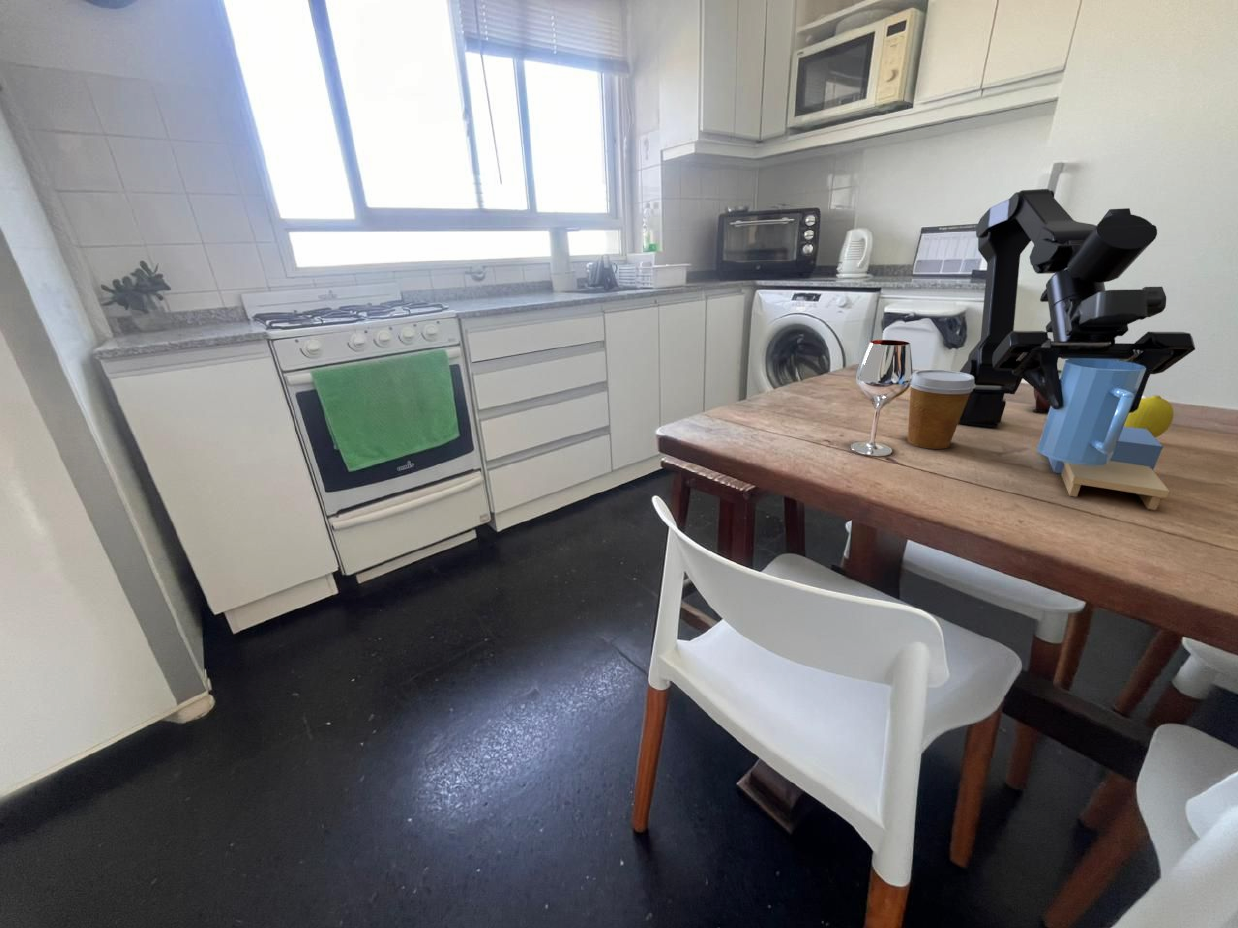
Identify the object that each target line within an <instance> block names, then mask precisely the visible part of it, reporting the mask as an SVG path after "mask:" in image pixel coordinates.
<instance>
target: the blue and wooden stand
mask: <svg viewBox="0 0 1238 928" xmlns="http://www.w3.org/2000/svg"><path fill="white" fill-rule="evenodd" d="M1163 448H1164V445H1162V443H1160V441H1159V440H1158V439H1157V437H1154V436H1153V435H1152V434H1151V433H1150V432H1149V431H1148V430H1147V429H1140V428H1131V427H1123V429H1122V432H1121V434H1120V437H1119V440H1118V442H1117V445H1116V447H1115V450H1114V452H1113V455H1112V458H1111V459H1110V461H1109V463H1107V464H1105V465H1098V466H1089V465H1078V464H1071V463H1066V462H1062V461H1058V460H1055V459H1052V458H1049V457H1047V459H1048V461H1049V463H1050V466H1051V470H1052V472H1053V473H1056V474H1060V476H1061V478H1062V481H1063V483H1064V486H1065V488H1066V491H1067V493H1068V496H1070V497H1075V498H1077V497H1078V495H1079V492H1080V489H1081V487H1082V486H1087V487H1093V488H1099V489H1106V490H1110V491H1111V490H1112V491H1118V492H1123V493H1124V492H1125V493H1130V494H1131V493H1132V494H1136V495H1137V496H1138V497H1139V499H1140V500H1141V502H1142V503H1143V504H1144V506H1145V507H1146V509H1147V510H1152V511H1156V510H1157V509H1158V507H1159V504H1160V503H1161V499H1162V498H1163V499H1167V498H1168V496H1169V494H1170V490H1169V489H1168V487H1167V486H1166V485H1165V484H1164V483H1163V481H1162V480H1161V479H1160V477H1159V476H1158V475H1157V474H1156V472H1155V471H1154V469H1155V467H1156V464H1157V462H1158V460H1159V458H1160V455H1161V453H1162V451H1163Z"/></svg>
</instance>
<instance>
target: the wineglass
mask: <svg viewBox="0 0 1238 928" xmlns="http://www.w3.org/2000/svg"><path fill="white" fill-rule="evenodd" d="M913 365H914V364H913V355H912V346H911V342H910V341H905V340H898V339H877V340H876V339H875V340H874V339H873V340H870V341H869V342H868V344H867V346H866V348H865V350H864V353H863V355H862V357H861V359H860V361H859V364H858V367H857V370H856V373H855V377H854V379H855V384H856V387H857V389H858V390H859V392H860V393H861V394H862V395H863V396H864V397H865V398H866V399H867V400H868V401H869V403H871V405H872V406H873V408H874V411H873V412H874V414H873V419H872V425H871V431H870V435H869V439H868V441H856V442H853V443H851V444H850V450H851V451H853V452H855V453H857V454H860V455H864V456H868V457H869V456H870V457H886V456H889V455H891V454H892V452H893V449H892V448H891V447H890V446H888V445H886V444H883V443H880V442H876V438H877V430H878V425H879V419H880V414H881V410H882V409H883V408H884V407H885V406H886V405H888V404H889V403H891V402H893V401H895V400H896V399H898V398H899V397H901V396H902V395H903V394H905V393H906V392H907V391H908V390H909V389H910V388H911V386H910V385H911V383H912V379H913V373H914V367H913Z"/></svg>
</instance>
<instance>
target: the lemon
mask: <svg viewBox="0 0 1238 928" xmlns="http://www.w3.org/2000/svg"><path fill="white" fill-rule="evenodd" d="M1174 413H1175V411H1174V407H1173V406H1172V404H1171V403H1170V402H1169V401H1168V400H1166V399H1165V398H1162V397H1161V396H1160V395H1157V394H1155V395H1152V396H1148V397H1142V398H1141V401H1140V404H1139V407H1138V409H1137V410H1136V411H1134V412H1133V413H1129V414H1128V417H1127V419H1126V422H1125V424H1124V427H1131V428H1140V429H1147V430H1148V431H1149V432H1150V433H1151V434H1152V435H1153V436H1154V437H1155V438H1157V437H1160V436H1161V435H1163V434H1164V433H1166V432H1167V431H1168V430H1169V428H1170V427H1171V425H1172V423H1173V420H1174Z"/></svg>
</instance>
